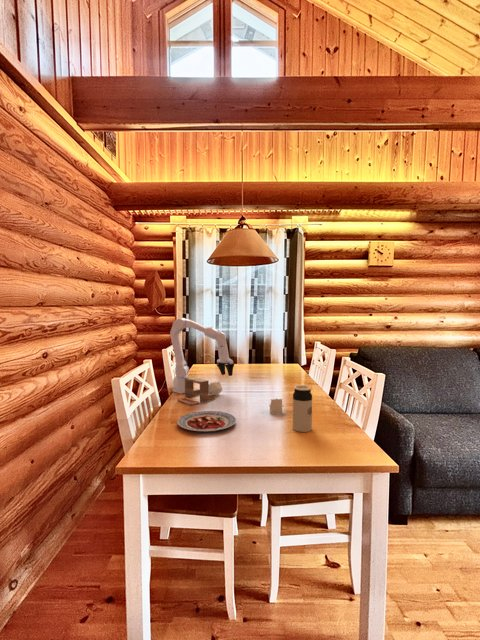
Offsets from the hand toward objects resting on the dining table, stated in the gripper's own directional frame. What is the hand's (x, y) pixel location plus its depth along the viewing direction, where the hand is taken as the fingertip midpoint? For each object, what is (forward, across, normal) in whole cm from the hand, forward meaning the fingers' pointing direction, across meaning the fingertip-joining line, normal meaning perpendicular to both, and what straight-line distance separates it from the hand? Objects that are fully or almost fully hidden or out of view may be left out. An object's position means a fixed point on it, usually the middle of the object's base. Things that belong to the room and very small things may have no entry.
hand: (227, 375), depth 210 cm
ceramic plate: (+10, -38, +39) cm, 56 cm away
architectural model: (+15, -44, +4) cm, 47 cm away
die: (+9, +1, +10) cm, 14 cm away
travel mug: (+16, -67, +10) cm, 70 cm away
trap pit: (+7, -4, +29) cm, 31 cm away
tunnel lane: (+8, -1, +20) cm, 22 cm away
